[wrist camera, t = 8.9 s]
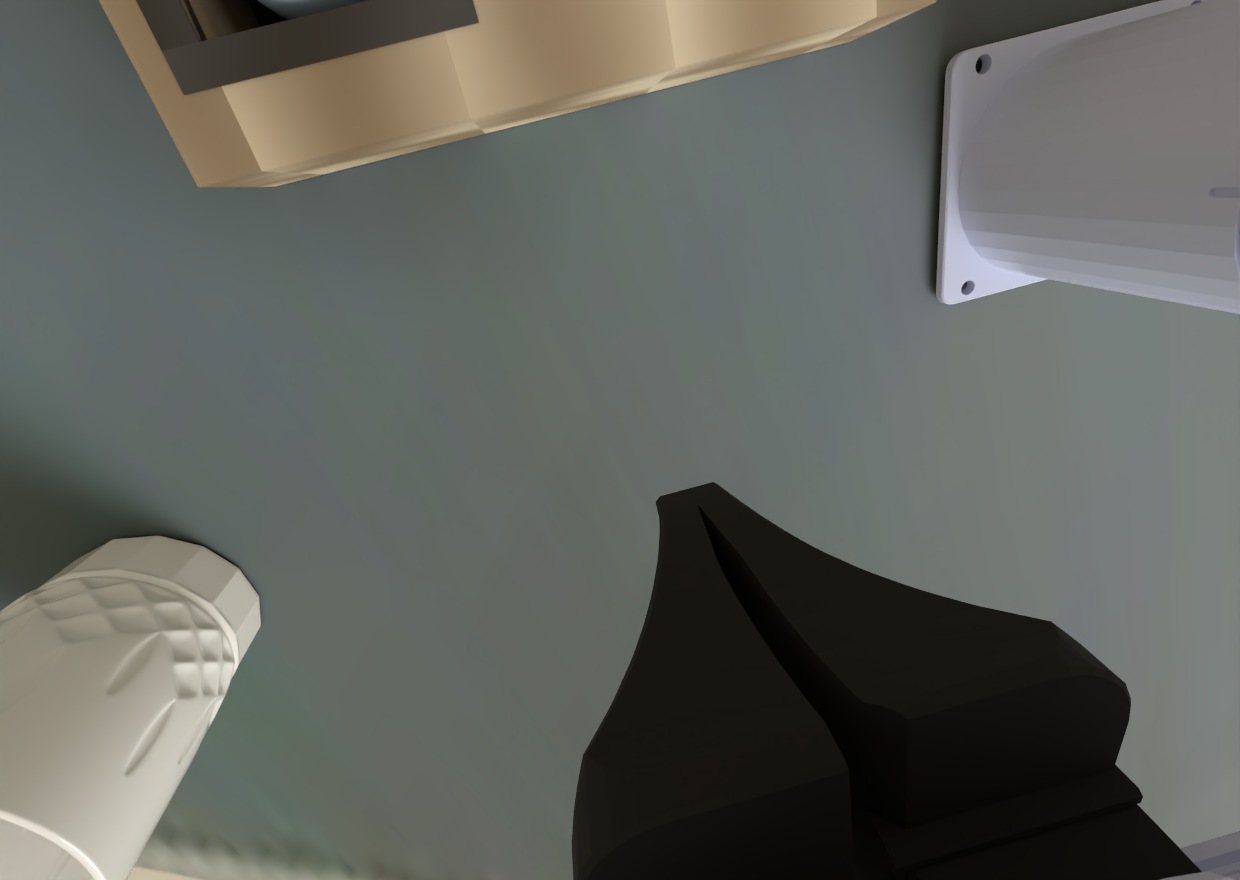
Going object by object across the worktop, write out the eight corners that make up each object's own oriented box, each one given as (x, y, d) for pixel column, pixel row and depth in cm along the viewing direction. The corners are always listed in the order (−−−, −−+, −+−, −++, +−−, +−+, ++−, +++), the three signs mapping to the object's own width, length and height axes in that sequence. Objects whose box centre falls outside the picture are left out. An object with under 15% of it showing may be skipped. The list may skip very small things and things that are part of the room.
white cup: (8, 605, 21) (-398, 926, 12) (132, 481, 19) (-220, 738, 10) (202, 699, 24) (0, 1008, 15) (320, 599, 22) (176, 874, 14)
